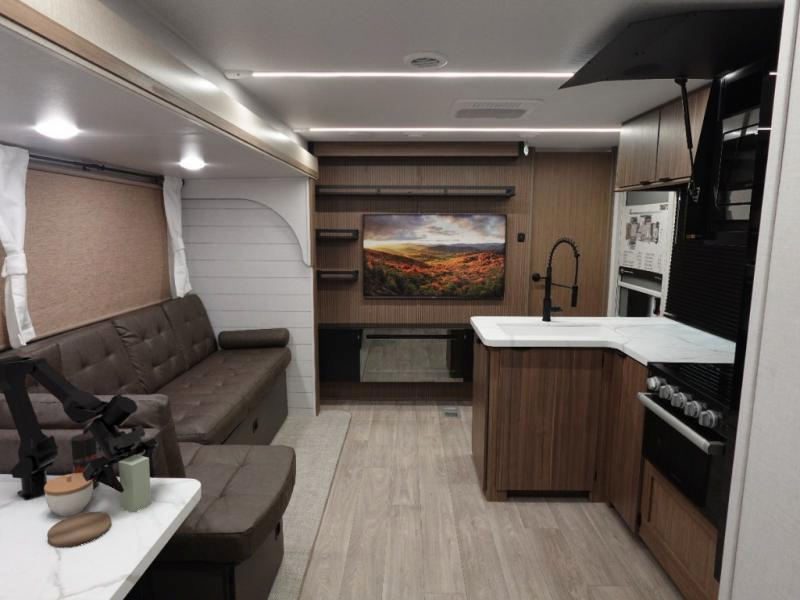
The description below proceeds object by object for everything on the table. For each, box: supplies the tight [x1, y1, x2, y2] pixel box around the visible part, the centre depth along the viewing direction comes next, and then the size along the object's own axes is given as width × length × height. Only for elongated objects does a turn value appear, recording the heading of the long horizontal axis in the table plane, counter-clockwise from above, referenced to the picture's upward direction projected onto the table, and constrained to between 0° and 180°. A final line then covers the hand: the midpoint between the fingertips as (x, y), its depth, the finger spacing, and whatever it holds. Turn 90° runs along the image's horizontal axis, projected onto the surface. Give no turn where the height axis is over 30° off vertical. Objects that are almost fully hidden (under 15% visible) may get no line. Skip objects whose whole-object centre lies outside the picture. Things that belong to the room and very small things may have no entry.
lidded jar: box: [44, 472, 94, 517], centre depth 131 cm, size 11×11×9 cm
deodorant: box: [70, 433, 100, 490], centre depth 143 cm, size 6×6×15 cm
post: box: [118, 455, 152, 514], centre depth 133 cm, size 5×5×13 cm
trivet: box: [46, 511, 112, 549], centre depth 121 cm, size 13×13×2 cm
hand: (138, 484), depth 132 cm, fingers open, 9 cm apart
